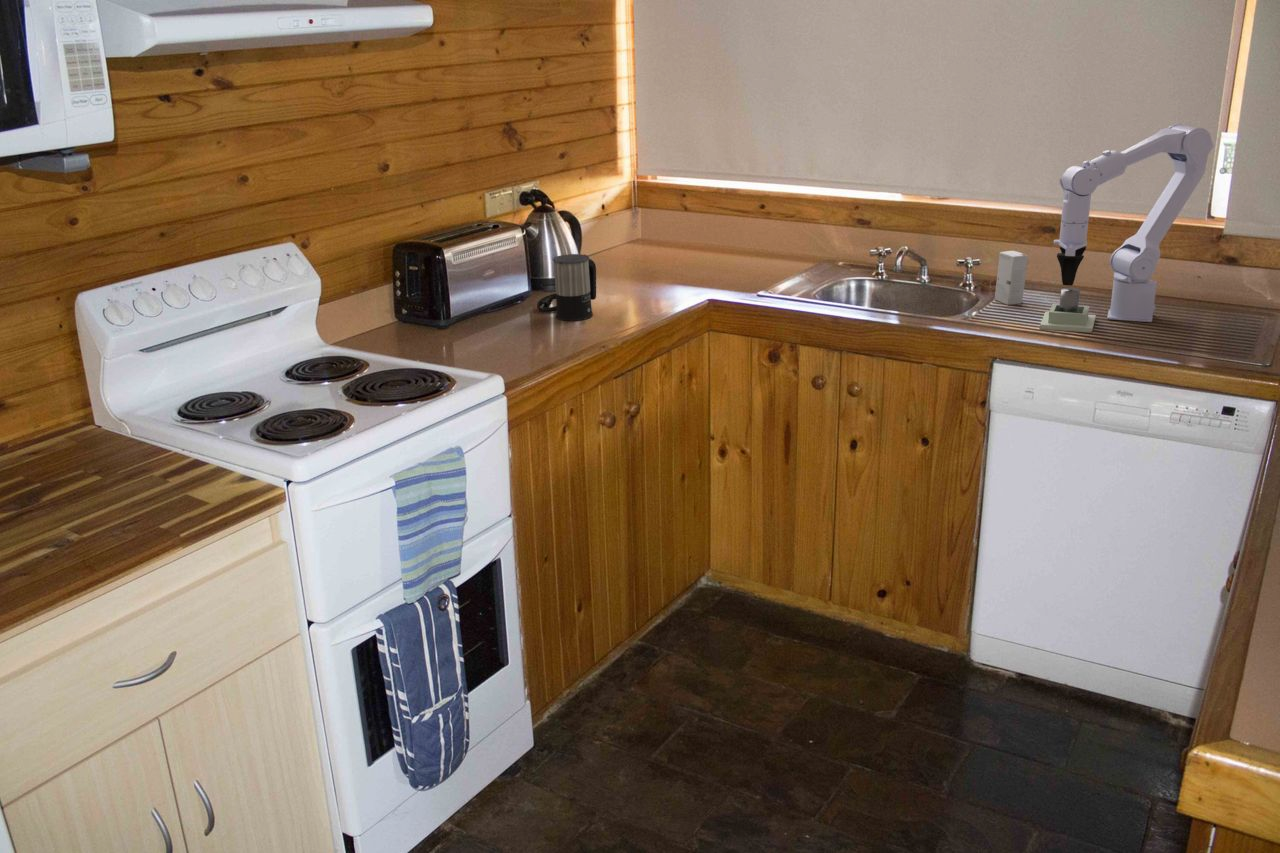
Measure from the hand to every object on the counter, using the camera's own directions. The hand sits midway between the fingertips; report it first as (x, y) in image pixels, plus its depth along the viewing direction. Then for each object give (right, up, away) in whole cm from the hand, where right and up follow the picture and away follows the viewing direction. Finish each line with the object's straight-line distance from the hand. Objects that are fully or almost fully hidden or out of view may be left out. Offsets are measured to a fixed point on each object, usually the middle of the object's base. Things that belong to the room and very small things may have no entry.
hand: (1068, 281), depth 257 cm
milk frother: (-117, -5, +25) cm, 120 cm away
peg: (0, -9, +1) cm, 9 cm away
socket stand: (0, -10, +1) cm, 10 cm away
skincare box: (-7, -3, +21) cm, 23 cm away
